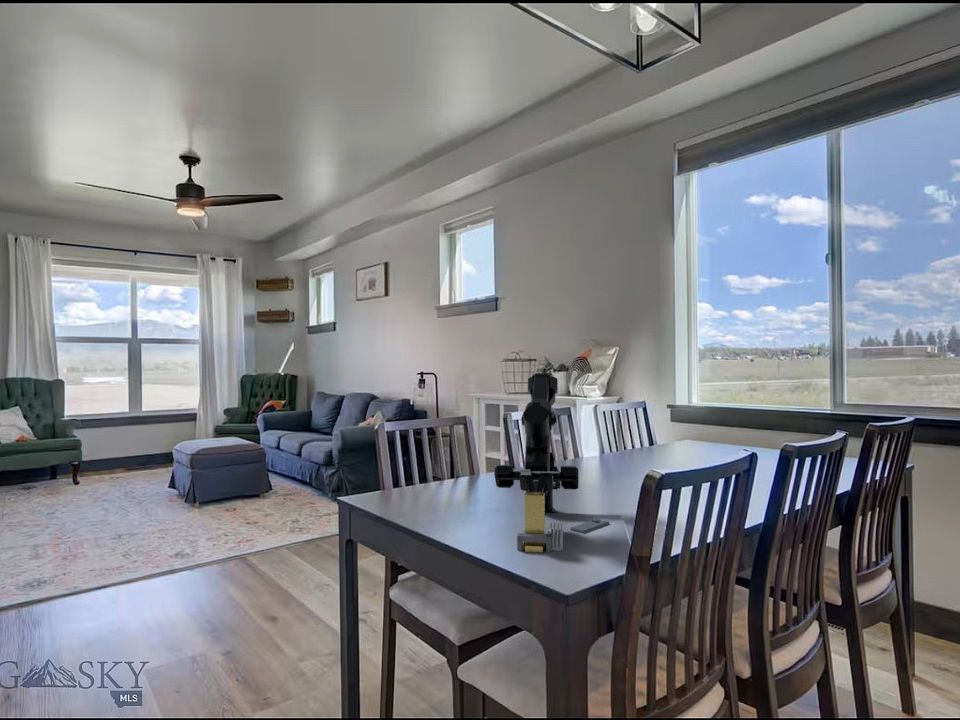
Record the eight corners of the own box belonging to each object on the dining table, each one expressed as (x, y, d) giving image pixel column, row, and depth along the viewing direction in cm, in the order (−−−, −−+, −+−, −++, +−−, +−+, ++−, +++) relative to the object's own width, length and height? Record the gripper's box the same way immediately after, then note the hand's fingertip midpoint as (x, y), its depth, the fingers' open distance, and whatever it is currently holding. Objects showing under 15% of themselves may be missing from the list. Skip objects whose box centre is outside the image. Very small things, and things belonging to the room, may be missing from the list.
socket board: (512, 533, 136) (512, 516, 136) (564, 534, 135) (563, 517, 135) (504, 556, 121) (504, 537, 121) (563, 558, 119) (563, 539, 119)
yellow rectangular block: (526, 542, 127) (525, 491, 127) (544, 543, 126) (544, 492, 126) (524, 551, 121) (523, 498, 121) (543, 552, 120) (543, 499, 120)
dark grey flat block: (569, 535, 135) (569, 527, 135) (596, 526, 143) (596, 518, 143) (583, 539, 133) (583, 531, 133) (609, 529, 140) (609, 521, 140)
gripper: (577, 471, 142) (578, 530, 131) (501, 469, 145) (496, 527, 134) (577, 443, 134) (579, 503, 123) (497, 442, 137) (491, 501, 126)
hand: (535, 510), depth 127 cm, fingers closed, pressing on yellow rectangular block
